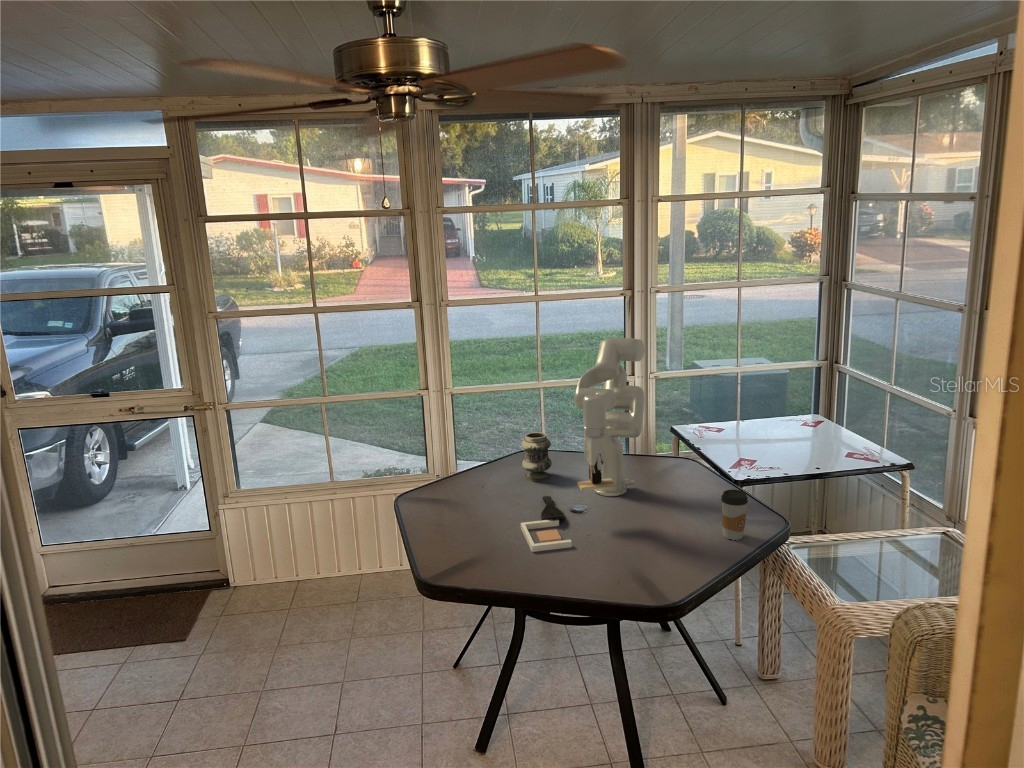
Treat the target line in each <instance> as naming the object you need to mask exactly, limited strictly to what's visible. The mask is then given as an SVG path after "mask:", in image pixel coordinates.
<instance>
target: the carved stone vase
mask: <svg viewBox="0 0 1024 768" xmlns="http://www.w3.org/2000/svg"><path fill="white" fill-rule="evenodd" d="M524 437H525V438H524V440H522V441H521V447H522V449H524V459H523V461H522V462H521V463H522V464H521V466H522V468H523V469H524V470H525V471H527V473H526V474H525V475H524V476H525V478H526V479H527V480H528V481H532V482H538V481H539V482H540V481H545V480H547V479H549V478H550V474H549V473H548V472H547V470H549V469H550V468H551V467H552V465H553V464H552V459H550V457H549V448H550V447H551V445H552V444H551V443H552V442H551V440H549V438H547V434H546V433H544V432H542V431H541V432H540V431H534V432H528V433H526V434H525V436H524Z"/></svg>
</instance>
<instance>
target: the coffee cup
mask: <svg viewBox="0 0 1024 768" xmlns="http://www.w3.org/2000/svg"><path fill="white" fill-rule="evenodd" d="M748 500H749V498H748V496H747V493H746V492H745V491H742V490H739V489H726V490H724V491H722V495H721V525H722V535H723V537H724V536H725V537H726V538H728V539H732V540H731V541H734V540H736V541H739V540H738V539H741V538H742V539H743V538H744V533H745V527H746V518H747V506H748V503H749V501H748ZM725 537H724V538H725ZM726 538H725V539H726ZM728 539H727V540H728ZM742 539H741V540H742Z"/></svg>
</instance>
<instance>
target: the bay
mask: <svg viewBox="0 0 1024 768" xmlns="http://www.w3.org/2000/svg"><path fill="white" fill-rule="evenodd" d="M559 526H560V519H550V520H542V519H541V520H534V521H527V522H520V529H521V531H522V534H523V536H524V538H525V540H526V542H527V545H528V547H529V549H530V551H531V553H534V552H536V553H537V552H543V551H551V550H559V549H560V550H561V549H569V548H573V542H572V540H571V539H565V540H562V541H554V542H545V543H540V542H539V543H535V542H534V540H533V538H532V536H531V534H530V532H529V530H535V529H543V528H553V527H559Z"/></svg>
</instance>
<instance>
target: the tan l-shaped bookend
mask: <svg viewBox="0 0 1024 768" xmlns="http://www.w3.org/2000/svg"><path fill="white" fill-rule="evenodd" d="M595 464H596V463H595ZM596 467H597V466H595V468H596ZM592 472H593V466H591V465H590V479H589V480H584V481H577V486H578V488H579V489H580V491H581V492H583V491H584V492H585V491H592V490H593V491H594V489H602V488H611V487H615V483H614V481H613V480H612V479H611V478H609V479H602V482H601V483H595V484H593V483H592Z"/></svg>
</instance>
